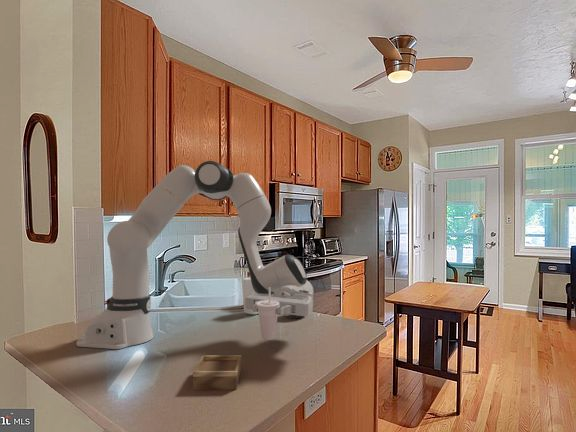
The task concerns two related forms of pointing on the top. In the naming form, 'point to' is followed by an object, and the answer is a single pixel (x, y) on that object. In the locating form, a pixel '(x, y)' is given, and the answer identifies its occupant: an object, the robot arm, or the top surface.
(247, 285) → the cup
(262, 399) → the top surface
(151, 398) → the top surface
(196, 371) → the wooden tray
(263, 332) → the smoothie
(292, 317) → the cupcake
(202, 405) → the top surface
